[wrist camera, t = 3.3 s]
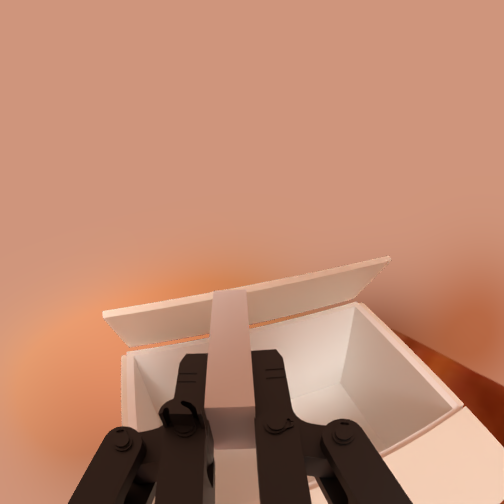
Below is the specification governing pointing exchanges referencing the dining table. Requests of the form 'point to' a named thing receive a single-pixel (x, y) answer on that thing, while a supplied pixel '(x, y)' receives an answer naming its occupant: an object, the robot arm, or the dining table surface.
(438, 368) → the dining table surface
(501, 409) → the dining table surface
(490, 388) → the dining table surface
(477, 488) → the carton
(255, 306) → the front flap
